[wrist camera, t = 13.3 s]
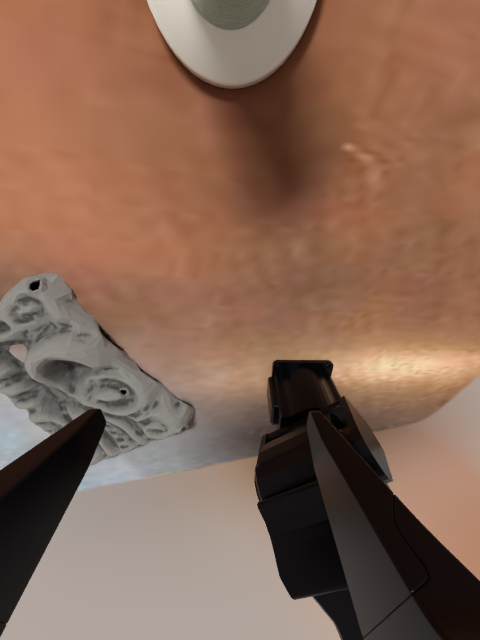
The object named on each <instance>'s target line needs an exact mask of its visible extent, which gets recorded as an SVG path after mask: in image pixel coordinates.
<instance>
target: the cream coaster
mask: <svg viewBox="0 0 480 640" xmlns="http://www.w3.org/2000/svg"><path fill="white" fill-rule="evenodd" d="M147 1H148V4H149V7H150V10H151V12H152V14H153V16H154V19H155V21H156V23H157V25H158V27H159V29H160V31H161V34H162V35H163V37H164V39H165V41H166V42H167V44H168V46H169V48H170V49H171V50H172V52H173V53H174V54H175V56H176V57H177V59H178V60H179V61H180V62H181V63H182V64H183V65H184V66H185V67H186V68H187V69H188V70H189V71H190V72H191V73H193V74H194V75H195V76H196V77H198V78H200V79H201V80H203V81H204V82H206V83H209V84H211V85H213V86H217V87H221V88H227V89H238V88H245V87H248V86H252V85H255V84H257V83H259V82H261V81H263V80H264V79H266V78H267V77H269V76H270V75H272V74H273V73H274V72H275V71H276V70H277V69H278V68H280V67H281V66H282V65H283V63H284V62H285V61H286V60H287V59H288V57H289V56H290V55H291V54H292V52H293V51H294V49H295V48H296V46H297V45H298V43H299V41H300V39H301V37H302V36H303V34H304V32H305V30H306V28H307V25H308V23H309V20H310V18H311V15H312V13H313V10H314V7H315V4H316V1H317V0H270V2H269V4H268V6H267V7H266V9H265V10H264V12H263V13H262V14H261V15H260V16H259V17H258V18H257V19H256V20H255V21H254V22H253V23H251V24H250V25H248V26H246V27H244V28H242V29H238V30H224V29H220V28H218V27H215V26H214V25H212V24H210V23H209V22H208V21H207V20H205V19H204V18H203V17H202V16H201V14H200V13H199V12H198V11H197V9H196V8H195V7H194V5H193V3H192V1H191V0H147Z"/></svg>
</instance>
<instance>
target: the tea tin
mask: <svg viewBox="0 0 480 640" xmlns="http://www.w3.org/2000/svg"><path fill="white" fill-rule="evenodd" d="M191 1H192V3H193V5H194V7H195V8H196V9H197V11H198V12H199V13H200V14H201V16H202V17H203V18H204V19H205V20H207V21H208V22H209V23H210V24H212V25H214V26H215V27H218V28H220V29H224V30H238V29H242V28H244V27H246V26H248V25H250V24H251V23H253V22H254V21H255V20H256V19H257V18H258V17H259V16H260V15H261V14H262V13H263V12H264V10H265V9H266V7H267V6H268V4H269V2H270V0H191Z"/></svg>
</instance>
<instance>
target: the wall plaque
mask: <svg viewBox="0 0 480 640" xmlns="http://www.w3.org/2000/svg"><path fill="white" fill-rule="evenodd" d="M39 281H40V286H39V288H38V289H37V290H34V291H32V290H31V288H30V287H31V285H32V284H33V283H35V282H39ZM16 344H24V345H25V346H26V347H27V355H26V359H25V363H23V362H21V361H20V360H18V359H17V358H15V357H14V356H13V355H12V354H11V353H10V352H9V349H10V346H11V345H16ZM121 390H126V392H127V393H126V394H125V395H124V394H122V393H121V392H120V391H121ZM0 392H1V393H2V394H4V395H6V396H7V397H8V398H9V399H10V400H11V401H12V402H13V404H14V405H15V406H16V407H17V408H20V409H27V410H28V412H29V419H30V420H31V422H32V423H34V424H36V425H37V426H39V427H41V428H42V429H43V430H44V431H46V432H48V433H50V434H51V435H52V434H54V433H55V432H57V431H58V430H60V429H61V428H62V427H64V426H65V425H67V424H68V423H70V422H71V421H73V420H74V419H75V418H77V417H78V416H80V415H81V414H83V413H84V412H86V411H87V410H89V409H92V408H98V409H101V410H102V412H103V415H104V417H105V419H106V425H108V426H106V427H105V430H104V432H103V434H102V437H101V439H100V442H99V444H98V446H97V449H96V451H95V454H94V456H93V459H92V461H91V463H90V465H94V464H96V463H98V462H100V461H102V460H104V459H106V458H108V457H112V456H117V455H118V454H120V453H122V452H127V451H130V450H132V449H134V448H135V447H137V446H138V445H140V444H141V445H145V444H147V443H148V442H150V441H151V440H153V439H156V440H159V439H165V438H167V437H170V436H172V435H174V434H176V433H179V434H181V433H182V432H184V430H185V428H188V423H189V421H190V420H191V419H192V418H193V416H194V408H193V407H191V406H190V405H188V404H186V403H183V402H182V401H181V400H178V399H177V398H176V397H175V396H174V395H173V394H172V393H171V392H170V391H169V390H168V389H167V388H166V387H165V386H164V385H163V384H162V383H161V382H157V381H155V380H153V379H152V378H150V377H149V376H147V375H146V374H145V373H143V372H142V371H141V370H140V369H139V367H138V366H137V364H136V363H135V362H134V361H133V360H132V359H131V358H130V357H129V356H128V355H127V354H126V352H125V351H122V350H120V349H119V348H117V347H116V346H114V345H113V344H112V343H111V342H110V341H108V340H107V339H106V338H105V337H104V336H103V334H102V333H101V332H100V328H99V324H98V323H97V322H96V321H95V319H94V318H93V317H92V316H91V315H90V314H89V313H87V312H86V311H85V310H84V309H83V307H82V306H81V305H80V304H79V303H78V301H77V299H76V298H75V296H74V293H73V292H72V290H71V289H70V287H69V286H68V285H67V284H66V283H65V281H64V280H63V279H62V278H61V277H60V276H59V275H58V274H52V273H42V274H39V275H37V276H29V277H26V278H24V279H22V280H21V281H20V282H19V283H18V284H17V285H16V286H14V287H13V288H12V289H11V290H10V291H8V292H7V293H6V294H5V296H4V297H3V299H2V300H1V301H0ZM120 433H121V434H120ZM90 465H89V466H90Z"/></svg>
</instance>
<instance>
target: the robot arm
mask: <svg viewBox="0 0 480 640" xmlns="http://www.w3.org/2000/svg"><path fill="white" fill-rule="evenodd" d="M276 364H279V365H278V366H276ZM327 365H329V366H327ZM332 370H333V364H332V362H331V361H328V360H276V361H274V362H273V365H272V377H269V378H268V388H267V397H268V406H269V414H270V422H271V423H272V424H273V425H277V430H276V431H274V432H272V433H270V434H265V435H263V436H262V440H261V445H260V450H259V455H258V460H257V465H256V467H255V487H256V492H257V496H258V499H259V501H260V502H258V504H257V505H258V509H259V511H260V513H261V515H262V517H263V519H264V521H265V523H266V526H267V529H268V532H269V535H270V538H271V541H272V546H273V549H274V554H275V558H276V563H277V567H278V571H279V576H280V578H281V580H282V582H283V584H284V586H285V587H286V589H287V591H288V593H289V595H290V596H291V598H292V599H294V600H296V599H301V598H306V597H313V598H314V599H315V601H316V602H317V603H318V604H319V605H320V607H321V608H322V609H323V610H324V612H325V613H326V614H327V615H328V616H329V617H330V619H331V620H332V621H333V623H334V624H335V626H336V628H337V631H338V633H339V635H340V638H341V640H480V581H479V580H478V579H477V578H476V577H475V576H474V575H473V574H472V573H471V572H470V571H469V570H468V569H467V568H466V567H465V566H464V565H463V564H462V563H461V562H460V561H459V560H458V559H456V557H455V556H454V555H453V554H451V552H450V551H449V550H448V549H446V547H444V546H443V545H442V544H441V543H440V542H439V541H438V540H437V539H436V538H435V537H434V536H433V534H432V533H431V532H430V531H428V529H426V527H425V526H424V525H423V524H422V523H421V522H420V521H419V520H418V519H417V518H416V517H415V516H414V515H413V514H412V513H411V512H410V511H409V509H408V508H407V507H406V506H405V505H404V504H403V503H402V502H401V501H400V500H399V498H398V497H397V496H396V495H393V492H392V491H391V490H390V488H389V486H388V485H387V483H389V482H391V481H393V479H392V476H391V473H390V469H389V467H388V463H387V460H386V457H385V453H384V450H383V449H382V447H381V445H380V443H379V442H378V440H377V439H376V437H375V435H374V434H373V432H372V430H371V429H370V427H369V426H368V424H367V423H366V422H365V420H364V419H363V418H362V417H361V416H360V414H359V413H358V412H357V411H356V409H355V408H354V407H353V406H352V404H351V403H350V402H349V401H348V399H347V398H346V397H345V396H343V397H341V396H340V394H339V392H338V390H337V388H336V386H335V384H334V382H333V381H332V379H331V374H332ZM105 427H106V419H105V417H104V415H103V412H102V410H101V409H98V408H92V409H89V410H87V411H86V412H84V413H83V414H81V415H80V416H78V417H77V418H75V419H74V420H73V421H71V422H70V423H68V424H67V425H65V426H64V427H62V428H61V429H60V430H58V431H57V432H55V433H54V434H52V435H51V436H49V437H48V438H47V439H45V440H44V441H42V442H41V443H39V444H38V445H36V446H35V447H33V448H32V449H31V450H29V451H28V452H26V453H25V454H23V455H22V456H20V457H19V458H18V459H16V460H15V461H13V462H12V463H10V464H9V465H7V466H6V467H4V468H3V469H2V470H0V636H1V635H2V633H3V630H4V629H5V627H6V623H7V622H8V621H9V619H10V617H11V615H12V613H13V611H14V609H15V607H16V605H17V603H18V601H19V600H20V598H21V596H22V594H23V592H24V590H25V588H26V586H27V584H28V582H29V580H30V579H31V577H32V574H33V572H34V571H35V569H36V567H37V565H38V563H39V561H40V559H41V557H42V555H43V554H44V552H45V550H46V548H47V546H48V544H49V542H50V540H51V538H52V536H53V534H54V533H55V531H56V529H57V527H58V525H59V523H60V521H61V519H62V517H63V515H64V513H65V511H66V509H67V508H68V506H69V504H70V502H71V500H72V498H73V496H74V494H75V492H76V490H77V488H78V486H79V485H80V483H81V481H82V479H83V477H84V475H85V473H86V471H87V469H88V467H89V465H90V463H91V461H92V459H93V456H94V454H95V451H96V449H97V446H98V444H99V442H100V439H101V437H102V434H103V432H104V430H105Z"/></svg>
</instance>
